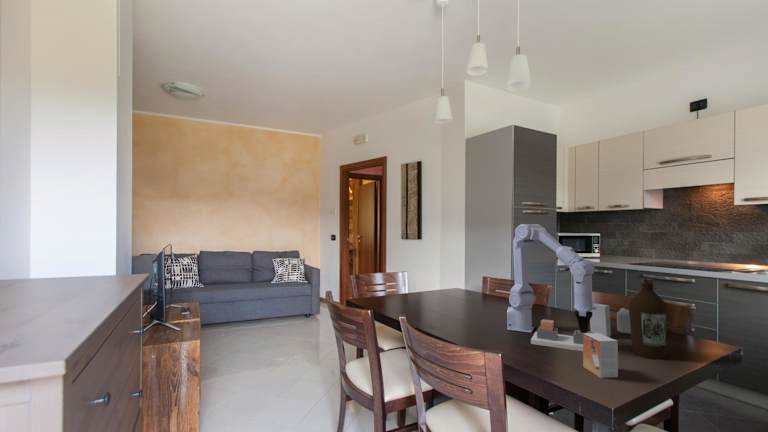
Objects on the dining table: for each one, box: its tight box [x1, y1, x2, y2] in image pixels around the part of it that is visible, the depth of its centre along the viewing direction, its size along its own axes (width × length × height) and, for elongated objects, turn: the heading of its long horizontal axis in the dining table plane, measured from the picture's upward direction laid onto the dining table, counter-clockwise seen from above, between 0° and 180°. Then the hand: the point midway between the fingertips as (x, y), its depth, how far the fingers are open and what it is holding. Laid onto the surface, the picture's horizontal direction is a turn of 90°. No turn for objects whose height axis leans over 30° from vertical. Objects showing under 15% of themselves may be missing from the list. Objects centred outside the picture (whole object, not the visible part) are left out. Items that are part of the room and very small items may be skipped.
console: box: [530, 325, 593, 352], centre depth 137 cm, size 22×12×4 cm, turn 60°
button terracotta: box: [540, 319, 555, 332], centre depth 140 cm, size 4×4×4 cm
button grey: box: [577, 329, 591, 335], centre depth 134 cm, size 4×4×4 cm
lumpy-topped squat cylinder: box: [616, 307, 631, 335], centre depth 153 cm, size 10×13×9 cm
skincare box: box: [589, 302, 612, 338], centre depth 146 cm, size 6×4×12 cm
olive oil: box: [628, 278, 668, 360], centre depth 125 cm, size 11×11×25 cm
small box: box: [582, 333, 619, 379], centre depth 110 cm, size 8×6×10 cm
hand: (583, 332), depth 134 cm, fingers closed, pressing on button grey
